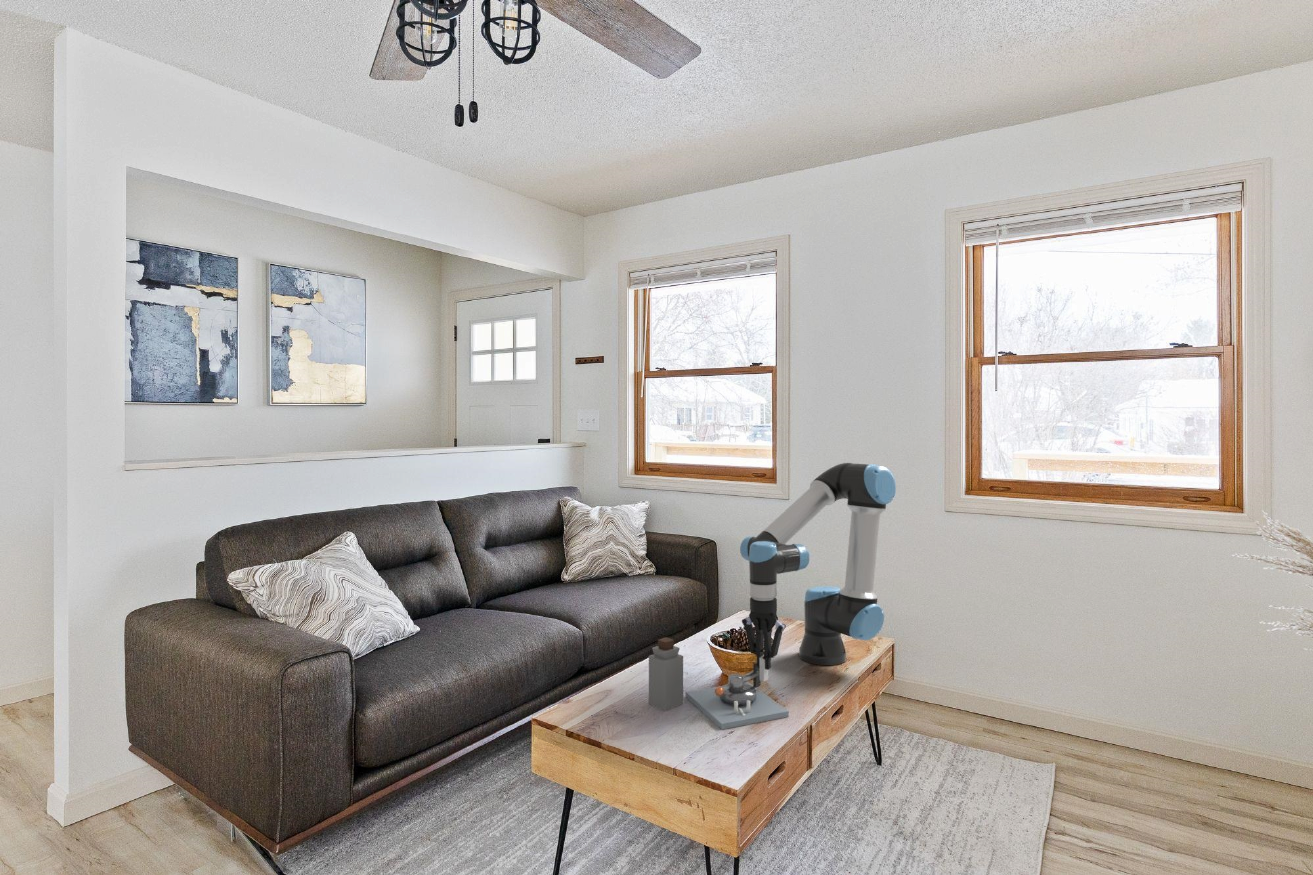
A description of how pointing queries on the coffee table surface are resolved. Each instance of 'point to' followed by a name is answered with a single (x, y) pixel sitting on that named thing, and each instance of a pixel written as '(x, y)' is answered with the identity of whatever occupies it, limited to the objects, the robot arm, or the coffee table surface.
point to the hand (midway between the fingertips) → (764, 679)
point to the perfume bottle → (666, 675)
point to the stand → (736, 708)
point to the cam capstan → (740, 687)
